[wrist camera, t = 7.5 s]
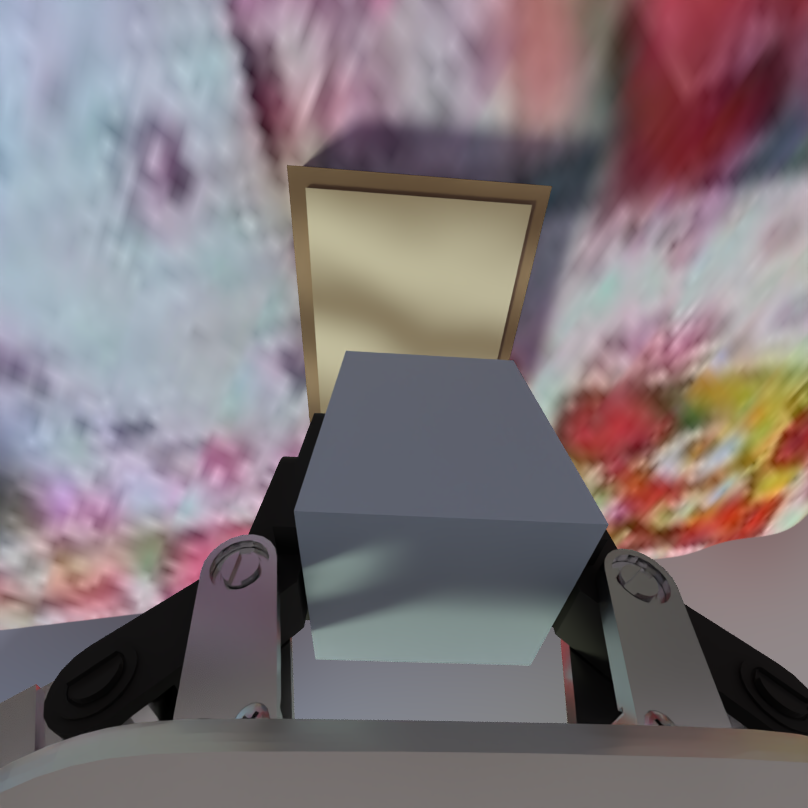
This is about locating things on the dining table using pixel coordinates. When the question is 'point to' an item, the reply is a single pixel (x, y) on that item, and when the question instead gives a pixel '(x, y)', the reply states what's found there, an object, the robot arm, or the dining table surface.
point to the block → (439, 514)
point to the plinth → (408, 266)
